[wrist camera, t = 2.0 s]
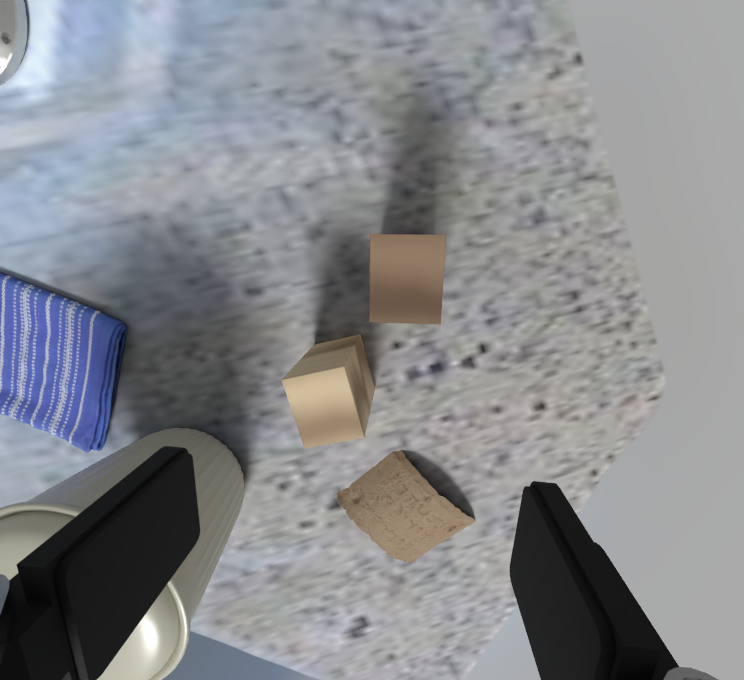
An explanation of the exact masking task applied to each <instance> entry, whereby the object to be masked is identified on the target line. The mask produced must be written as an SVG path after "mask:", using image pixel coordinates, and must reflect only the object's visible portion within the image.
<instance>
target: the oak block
mask: <svg viewBox="0 0 744 680" xmlns="http://www.w3.org/2000/svg"><path fill="white" fill-rule="evenodd" d="M282 382H283V385H284V388H285V391H286V394H287V397H288V400H289V403H290V406H291V409H292V412H293V415H294V418H295V421H296V424H297V427H298V430H299V433H300V436H301V439H302V442H303V445H304V448H309V447H314V446H320V445H325V444H331V443H336V442H342V441H347V440H353V439H359V438H364V437H365V432H366V427H367V423H368V418H369V414H370V409H371V404H372V400H373V395H374V390H375V385H374V382H373V378H372V374H371V371H370V367H369V363H368V359H367V356H366V352H365V348H364V345H363V341H362V337H361V334H358V335H354V336H350V337H345V338H341V339H337V340H332V341H328V342H323V343H319V344H315V345H314V346H313V347H312V348H311V349H310V350H309V351H308V352H307V353H306V354H305V355H304V356H303V358H302V359H301V360H300V361H299V362H298V363H297V364H296V365H295V366H294V367H293V368H292V369H291V371H290V372H289V373H288V374H287V375H286V376H285V377H284V378H283V379H282Z"/></svg>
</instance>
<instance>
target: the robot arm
mask: <svg viewBox="0 0 744 680" xmlns="http://www.w3.org/2000/svg"><path fill="white" fill-rule="evenodd" d="M26 42H27V15H26V8H25V3H24V0H0V85H2V84H4V83H5V82H6V81H7V80H8V79H9V78H10V77H11V76H13V74H14V73H15V71H16V70H17V68H18V67H19V65H20V63H21V60H22V58H23V55H24V53H25V47H26ZM199 536H200V521H199V511H198V502H197V492H196V483H195V473H194V464H193V457H192V455H191V454H190V453H188V451H187V449H186V448H182V447H172V446H164V447H162V448H160V449H159V450H158V451H157V452H155V453H154V454H153V455H152V456H150V457H149V458H148V459H147V460H146V461H144V462H143V463H142V464H141V465H139V466H138V467H137V468H136V469H134V470H133V471H132V472H131V473H129V474H128V475H127V476H126V477H124V478H123V479H122V480H121V481H119V482H118V483H117V484H116V485H114V486H113V487H112V488H111V489H110V490H108V491H107V492H106V493H105V494H103V495H102V496H101V497H100V498H98V499H97V500H96V501H95V502H93V503H92V504H91V505H90V506H88V507H87V508H86V509H85V510H83V511H82V512H81V513H80V514H78V515H77V516H76V517H75V518H74V519H72V520H71V521H70V522H69V523H67V524H66V525H65V526H64V527H62V528H61V529H60V530H59V531H57V532H56V533H55V534H54V535H52V536H51V537H50V538H49V539H47V540H46V541H45V542H44V543H43V544H41V545H40V546H39V547H38V548H36V549H35V550H34V551H33V552H31V553H30V554H29V555H28V556H26V557H25V558H24V559H23V560H21V561H20V562H19V563H18V564H16V565H17V569H18V572H19V573H18V574H16V575H15V576H14V577H13V578H12V579H10V580H9V579H8V578H7V577H6V576H5V575H2V574H0V680H97V679H98V678H99V677H100V676H101V675H102V674H103V672H104V671H105V670H106V668H107V667H108V666H109V664H110V663H111V661H112V660H113V659H114V657H115V656H116V654H117V653H118V652H119V650H120V649H121V648H122V646H123V645H124V643H125V642H126V641H127V639H128V638H129V636H130V635H131V634H132V632H133V631H134V629H135V628H136V627H137V625H138V624H139V623H140V621H141V620H142V618H143V617H144V616H145V614H146V613H147V611H148V610H149V609H150V607H151V606H152V604H153V603H154V602H155V600H156V599H157V598H158V596H159V595H160V593H161V592H162V591H163V589H164V588H165V586H166V585H167V584H168V582H169V581H170V579H171V578H172V577H173V575H174V574H175V573H176V571H177V570H178V568H179V567H180V566H181V564H182V563H183V561H184V560H185V559H186V557H187V556H188V554H189V553H190V552H191V550H192V549H193V548H194V546H195V545H196V543H197V541H198V539H199ZM510 578H511V583H512V586H513V590H514V593H515V596H516V599H517V603H518V606H519V609H520V613H521V616H522V619H523V622H524V625H525V629H526V632H527V635H528V638H529V642H530V645H531V648H532V652H533V655H534V658H535V662H536V665H537V668H538V671H539V675H540V677H541V680H718V679H716V678H714V677H713V676H711V675H709V674H707V673H704V672H701V671H698V670H695V669H692V668H685V667H679V666H678V664H677V663H676V661H675V660H674V658H673V657H672V655H671V654H670V652H669V650H668V649H667V647H666V646H665V644H664V643H663V641H662V640H661V638H660V636H659V635H658V633H657V632H656V630H655V629H654V627H653V626H652V624H651V623H650V621H649V619H648V618H647V616H646V615H645V613H644V612H643V610H642V609H641V607H640V605H639V604H638V602H637V601H636V599H635V598H634V596H633V595H632V593H631V592H630V590H629V588H628V587H627V585H626V584H625V582H624V581H623V580H622V578H621V576H620V574H619V573H618V572H617V570H616V568H615V567H614V565H613V564H612V562H611V561H610V559H609V557H608V556H607V554H606V553H605V551H604V550H603V549H602V548H601V546H600V545H598V544H597V543H595V542H593V540H592V539H591V537H590V535H589V534H588V532H587V531H586V529H585V528H584V526H583V524H582V523H581V521H580V520H579V518H578V516H577V515H576V513H575V512H574V510H573V508H572V507H571V505H570V504H569V502H568V500H567V499H566V497H565V496H564V494H563V493H562V491H561V489H560V488H559V486H558V485H557V484H555V483H546V482H536V481H533V482H532V483H531V485H530V487H528V486H526V487H524V490H523V494H522V500H521V506H520V511H519V517H518V523H517V529H516V534H515V540H514V546H513V551H512V557H511V563H510Z"/></svg>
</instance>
